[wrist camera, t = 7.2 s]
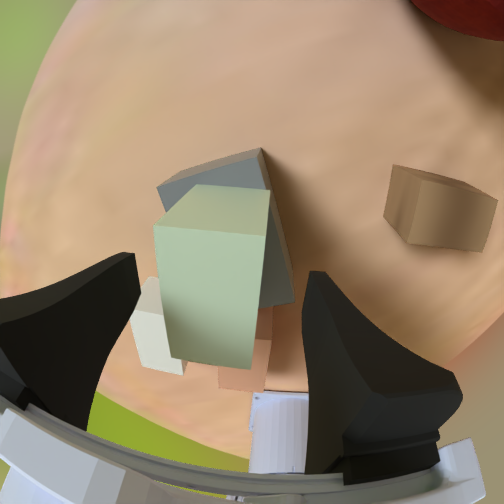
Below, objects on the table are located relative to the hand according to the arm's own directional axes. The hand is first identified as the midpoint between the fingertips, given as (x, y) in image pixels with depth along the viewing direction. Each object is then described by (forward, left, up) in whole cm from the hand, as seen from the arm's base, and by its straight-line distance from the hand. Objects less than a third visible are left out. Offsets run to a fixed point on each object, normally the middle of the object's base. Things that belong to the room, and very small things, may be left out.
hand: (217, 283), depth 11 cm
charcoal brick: (0, 0, -7) cm, 7 cm away
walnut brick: (+3, -12, -7) cm, 14 cm away
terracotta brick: (-9, -1, -7) cm, 12 cm away
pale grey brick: (-8, +5, -7) cm, 12 cm away
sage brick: (0, 0, -3) cm, 3 cm away
